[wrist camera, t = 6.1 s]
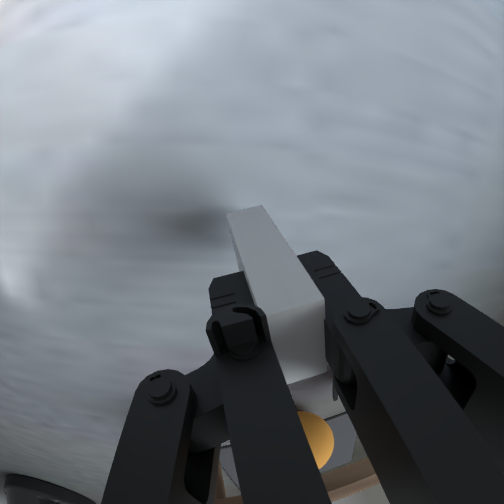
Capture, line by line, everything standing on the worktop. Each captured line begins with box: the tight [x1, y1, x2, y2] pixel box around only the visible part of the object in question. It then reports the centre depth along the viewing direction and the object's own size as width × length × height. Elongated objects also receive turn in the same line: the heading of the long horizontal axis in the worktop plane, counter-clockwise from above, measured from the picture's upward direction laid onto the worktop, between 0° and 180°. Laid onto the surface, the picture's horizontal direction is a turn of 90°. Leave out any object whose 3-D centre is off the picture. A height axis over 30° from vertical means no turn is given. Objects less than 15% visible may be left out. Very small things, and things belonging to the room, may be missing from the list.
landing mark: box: [219, 412, 357, 489], centre depth 28 cm, size 14×14×1 cm
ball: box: [297, 411, 334, 469], centre depth 21 cm, size 6×6×6 cm
